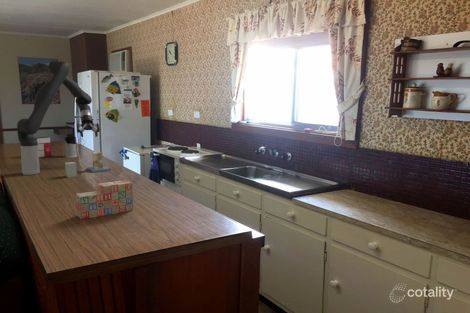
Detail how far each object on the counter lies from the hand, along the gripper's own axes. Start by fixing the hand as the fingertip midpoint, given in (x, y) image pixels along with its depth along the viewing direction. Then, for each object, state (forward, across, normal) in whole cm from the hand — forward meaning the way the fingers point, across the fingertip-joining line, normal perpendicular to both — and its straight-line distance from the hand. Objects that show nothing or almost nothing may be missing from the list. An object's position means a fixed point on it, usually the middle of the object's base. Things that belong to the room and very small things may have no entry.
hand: (89, 136), depth 249 cm
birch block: (+22, +3, +4) cm, 23 cm away
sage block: (+32, -14, -3) cm, 35 cm away
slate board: (+24, +3, +5) cm, 24 cm away
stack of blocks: (+90, -8, -59) cm, 108 cm away
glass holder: (-20, -5, +49) cm, 53 cm away
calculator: (-25, -26, +54) cm, 66 cm away
